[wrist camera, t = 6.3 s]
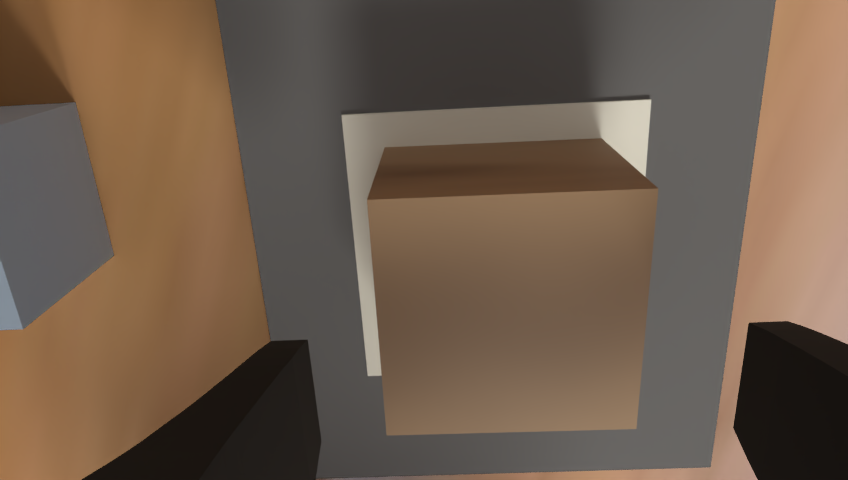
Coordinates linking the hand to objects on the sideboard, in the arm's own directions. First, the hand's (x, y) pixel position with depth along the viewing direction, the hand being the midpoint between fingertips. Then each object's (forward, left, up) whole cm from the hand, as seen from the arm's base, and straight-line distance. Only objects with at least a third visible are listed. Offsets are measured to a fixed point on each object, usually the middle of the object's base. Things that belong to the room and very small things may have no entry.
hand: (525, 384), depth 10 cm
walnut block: (0, 0, -6) cm, 6 cm away
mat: (0, 0, -6) cm, 6 cm away
